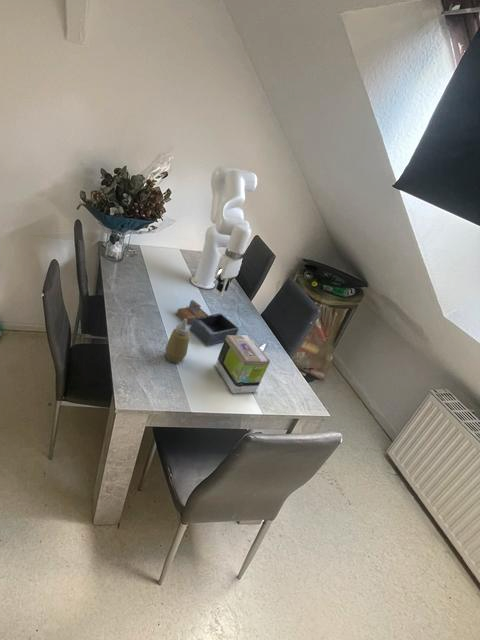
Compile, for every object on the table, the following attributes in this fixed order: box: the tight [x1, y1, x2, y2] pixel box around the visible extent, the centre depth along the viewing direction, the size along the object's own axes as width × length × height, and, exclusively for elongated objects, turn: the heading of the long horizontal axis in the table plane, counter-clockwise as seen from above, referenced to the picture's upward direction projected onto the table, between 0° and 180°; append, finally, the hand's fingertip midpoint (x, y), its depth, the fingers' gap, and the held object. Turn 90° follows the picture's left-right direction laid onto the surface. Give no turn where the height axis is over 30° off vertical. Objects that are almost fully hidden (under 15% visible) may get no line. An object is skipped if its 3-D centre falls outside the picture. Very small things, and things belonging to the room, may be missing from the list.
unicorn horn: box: [258, 343, 267, 353], centre depth 153 cm, size 5×24×5 cm, turn 139°
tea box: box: [215, 334, 271, 394], centre depth 138 cm, size 15×10×15 cm, turn 12°
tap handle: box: [188, 299, 202, 315], centre depth 170 cm, size 6×2×5 cm, turn 28°
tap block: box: [176, 305, 209, 325], centre depth 172 cm, size 11×10×3 cm
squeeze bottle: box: [165, 319, 191, 364], centre depth 141 cm, size 8×8×18 cm
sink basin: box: [189, 312, 239, 347], centre depth 163 cm, size 16×12×6 cm
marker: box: [216, 278, 228, 298], centre depth 172 cm, size 3×3×13 cm
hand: (221, 289), depth 174 cm, fingers closed on marker, 2 cm apart
